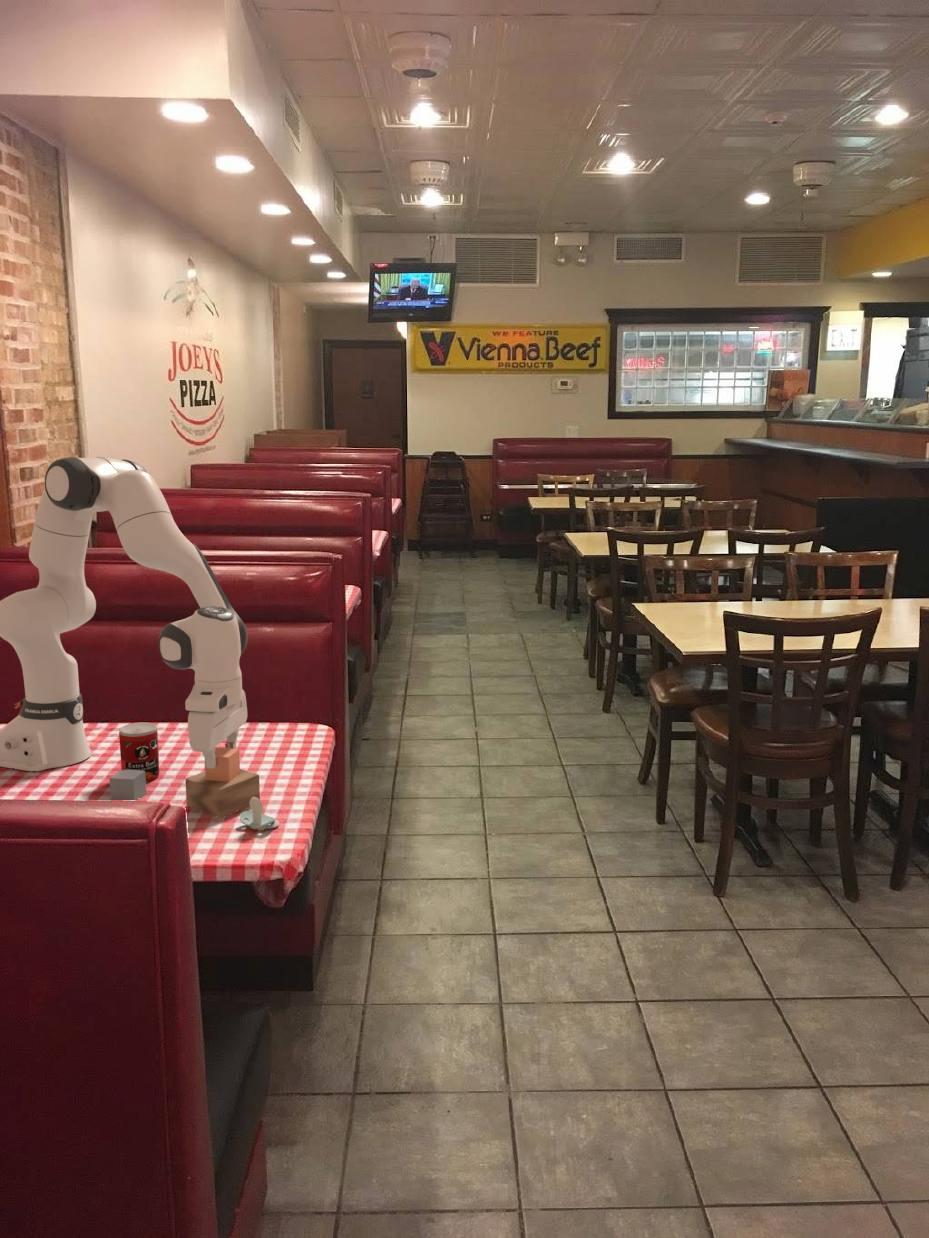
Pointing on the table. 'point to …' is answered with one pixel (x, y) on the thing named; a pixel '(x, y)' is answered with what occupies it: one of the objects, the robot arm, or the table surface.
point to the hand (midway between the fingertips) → (221, 758)
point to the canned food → (140, 748)
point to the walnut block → (222, 793)
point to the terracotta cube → (224, 765)
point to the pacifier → (257, 816)
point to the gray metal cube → (128, 785)
